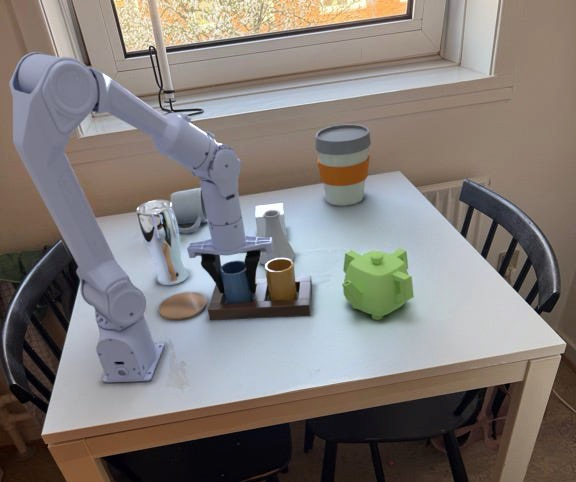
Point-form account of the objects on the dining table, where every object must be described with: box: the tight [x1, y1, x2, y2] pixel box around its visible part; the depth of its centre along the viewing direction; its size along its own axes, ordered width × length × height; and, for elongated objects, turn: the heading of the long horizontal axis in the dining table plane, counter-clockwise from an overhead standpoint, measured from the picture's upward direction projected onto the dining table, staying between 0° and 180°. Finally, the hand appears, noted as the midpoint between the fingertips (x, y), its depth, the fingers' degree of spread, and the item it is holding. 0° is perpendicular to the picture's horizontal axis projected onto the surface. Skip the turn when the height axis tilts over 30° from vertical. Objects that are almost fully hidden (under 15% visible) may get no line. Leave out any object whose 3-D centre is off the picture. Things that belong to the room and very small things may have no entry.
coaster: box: [158, 291, 208, 321], centre depth 103 cm, size 9×9×1 cm
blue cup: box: [220, 260, 254, 303], centre depth 99 cm, size 5×5×8 cm
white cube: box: [254, 202, 287, 238], centre depth 119 cm, size 6×6×6 cm
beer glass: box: [135, 199, 189, 286], centre depth 107 cm, size 7×7×15 cm
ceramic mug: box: [168, 187, 208, 235], centre depth 128 cm, size 11×8×8 cm
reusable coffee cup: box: [314, 123, 372, 207], centre depth 128 cm, size 13×13×15 cm
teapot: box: [341, 248, 415, 321], centre depth 93 cm, size 12×12×10 cm
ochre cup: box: [264, 258, 298, 301], centre depth 98 cm, size 5×5×8 cm
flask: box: [258, 210, 296, 266], centre depth 109 cm, size 7×7×10 cm
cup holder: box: [207, 275, 313, 321], centre depth 100 cm, size 10×18×2 cm, turn 86°
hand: (238, 289), depth 99 cm, fingers closed on blue cup, 5 cm apart
